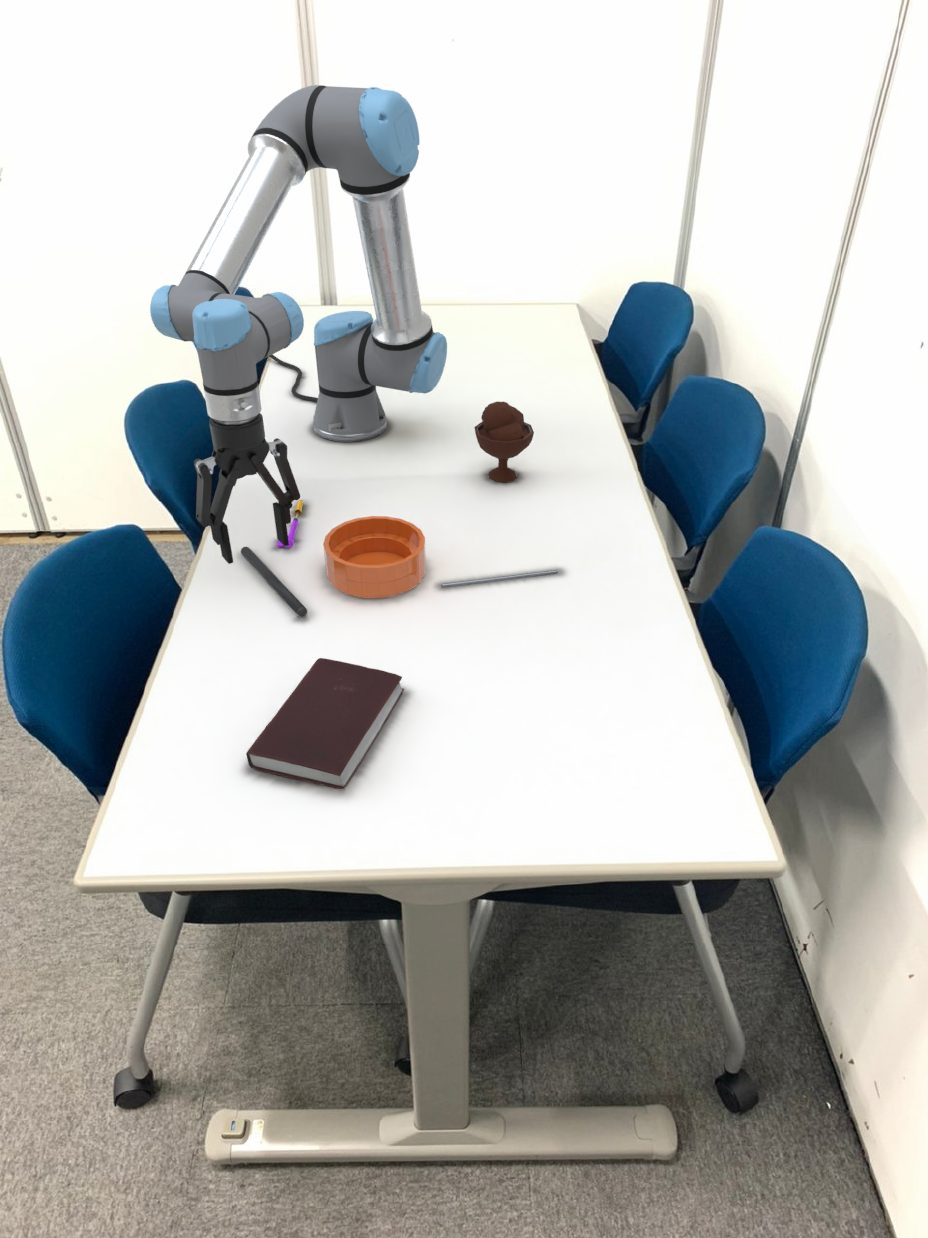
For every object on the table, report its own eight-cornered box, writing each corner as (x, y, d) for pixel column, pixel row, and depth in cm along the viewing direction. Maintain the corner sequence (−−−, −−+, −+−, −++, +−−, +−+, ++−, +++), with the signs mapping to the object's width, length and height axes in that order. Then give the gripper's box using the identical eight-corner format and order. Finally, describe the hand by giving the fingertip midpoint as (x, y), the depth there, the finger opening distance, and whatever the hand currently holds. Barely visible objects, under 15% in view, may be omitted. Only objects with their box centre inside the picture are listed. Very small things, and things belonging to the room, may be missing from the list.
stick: (251, 607, 148) (238, 547, 146) (260, 605, 148) (247, 545, 146) (300, 618, 131) (286, 551, 129) (309, 616, 132) (296, 549, 130)
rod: (440, 586, 139) (440, 583, 139) (556, 572, 143) (556, 568, 143) (441, 589, 139) (441, 585, 138) (557, 574, 142) (558, 571, 142)
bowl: (309, 566, 143) (306, 533, 140) (393, 538, 151) (391, 507, 147) (357, 612, 133) (355, 579, 130) (444, 580, 140) (444, 547, 137)
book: (247, 769, 107) (243, 749, 105) (319, 672, 122) (317, 653, 120) (343, 794, 104) (341, 775, 102) (404, 692, 118) (404, 673, 117)
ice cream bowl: (527, 491, 165) (531, 414, 156) (468, 485, 166) (468, 409, 158) (535, 466, 173) (539, 392, 164) (478, 461, 175) (480, 387, 166)
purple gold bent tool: (293, 548, 147) (305, 502, 160) (290, 542, 147) (303, 496, 160) (277, 551, 148) (291, 505, 161) (275, 545, 147) (288, 500, 160)
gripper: (171, 441, 120) (199, 582, 133) (315, 407, 130) (327, 541, 143) (152, 423, 125) (181, 560, 138) (292, 390, 135) (306, 521, 148)
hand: (255, 550), depth 141 cm, fingers open, 9 cm apart
